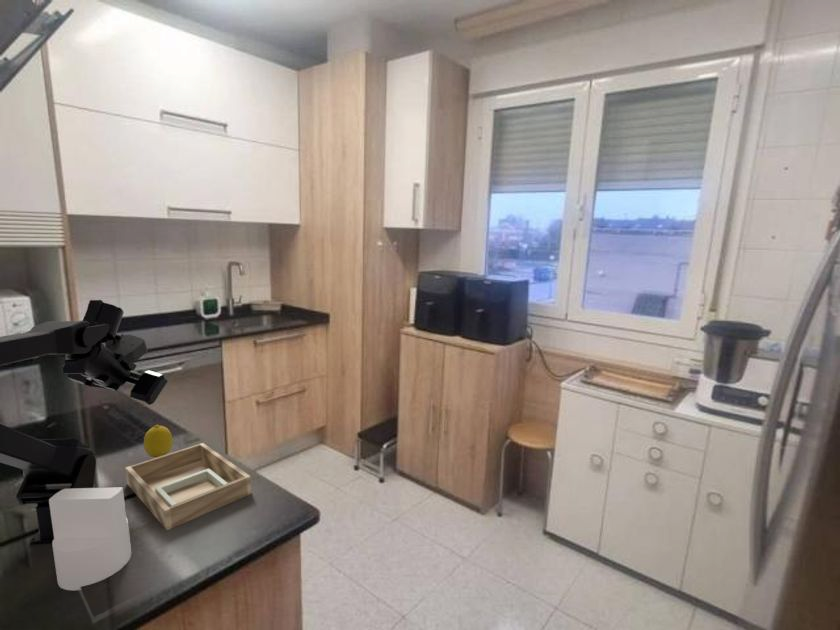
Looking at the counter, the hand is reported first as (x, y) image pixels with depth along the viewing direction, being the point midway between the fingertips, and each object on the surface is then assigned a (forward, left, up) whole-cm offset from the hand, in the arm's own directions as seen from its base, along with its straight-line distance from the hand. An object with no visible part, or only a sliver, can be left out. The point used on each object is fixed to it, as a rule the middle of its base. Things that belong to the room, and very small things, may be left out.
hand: (137, 393), depth 98 cm
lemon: (-1, -4, -16) cm, 16 cm away
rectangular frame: (-19, -16, -15) cm, 29 cm away
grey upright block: (-37, -7, -16) cm, 40 cm away
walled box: (-17, -14, -15) cm, 27 cm away
